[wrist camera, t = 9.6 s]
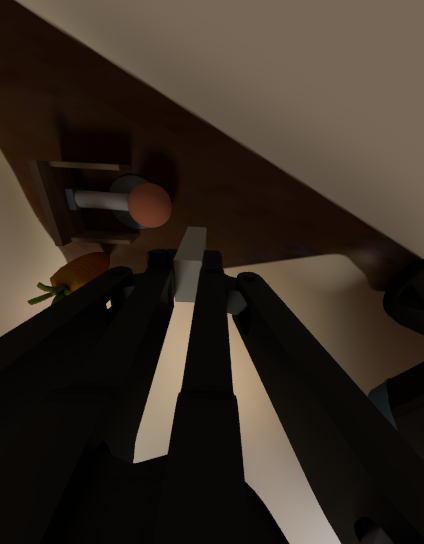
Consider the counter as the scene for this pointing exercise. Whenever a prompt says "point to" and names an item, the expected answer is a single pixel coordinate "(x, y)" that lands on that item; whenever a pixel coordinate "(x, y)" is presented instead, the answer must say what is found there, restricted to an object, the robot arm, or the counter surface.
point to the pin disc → (125, 187)
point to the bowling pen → (53, 198)
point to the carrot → (74, 276)
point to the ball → (149, 205)
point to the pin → (95, 199)
